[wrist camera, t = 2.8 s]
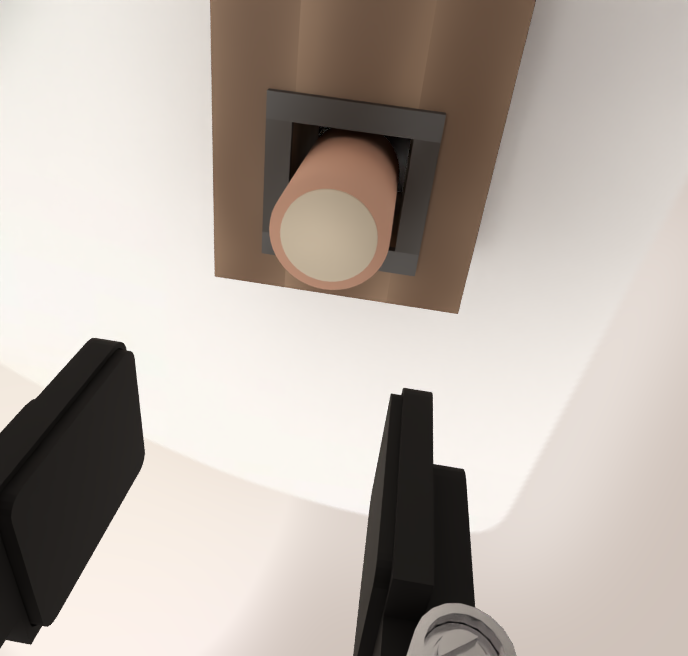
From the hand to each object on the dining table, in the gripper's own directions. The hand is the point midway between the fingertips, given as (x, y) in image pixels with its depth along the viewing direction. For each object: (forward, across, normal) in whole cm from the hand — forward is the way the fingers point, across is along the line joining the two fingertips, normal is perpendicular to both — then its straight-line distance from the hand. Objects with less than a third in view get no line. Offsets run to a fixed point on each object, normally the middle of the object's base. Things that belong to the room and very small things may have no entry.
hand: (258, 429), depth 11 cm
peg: (+16, 0, 0) cm, 16 cm away
